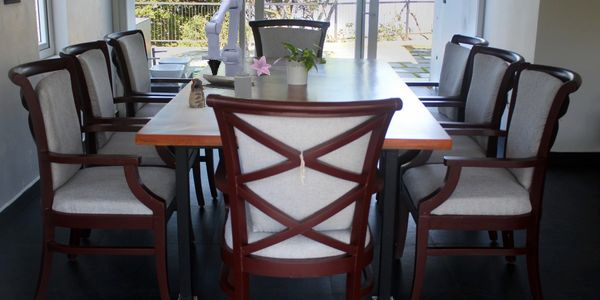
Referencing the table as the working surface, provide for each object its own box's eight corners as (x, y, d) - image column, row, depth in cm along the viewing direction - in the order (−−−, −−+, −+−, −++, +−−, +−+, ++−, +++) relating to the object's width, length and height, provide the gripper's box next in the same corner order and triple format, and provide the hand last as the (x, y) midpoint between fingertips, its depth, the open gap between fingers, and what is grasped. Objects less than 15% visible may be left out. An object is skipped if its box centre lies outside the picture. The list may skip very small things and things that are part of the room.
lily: (246, 77, 382) (250, 63, 376) (249, 66, 391) (253, 52, 385) (267, 84, 383) (272, 69, 378) (269, 73, 393) (274, 58, 387)
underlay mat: (219, 82, 361) (219, 81, 360) (255, 85, 348) (255, 85, 348) (200, 86, 349) (199, 85, 349) (235, 90, 336) (235, 89, 336)
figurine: (209, 105, 297) (208, 77, 294) (196, 108, 292) (195, 79, 289) (198, 104, 302) (197, 76, 299) (185, 106, 297) (184, 78, 294)
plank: (210, 83, 354) (211, 80, 354) (244, 86, 342) (245, 84, 342) (202, 76, 348) (203, 74, 349) (236, 80, 336) (237, 77, 337)
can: (242, 97, 316) (241, 71, 313) (255, 99, 312) (254, 72, 309) (231, 100, 310) (230, 73, 307) (244, 101, 306) (243, 74, 303)
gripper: (197, 47, 343) (198, 75, 346) (219, 48, 335) (220, 77, 338) (206, 46, 348) (208, 73, 352) (229, 47, 340) (230, 75, 344)
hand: (214, 75), depth 345 cm, fingers closed, pressing on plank
